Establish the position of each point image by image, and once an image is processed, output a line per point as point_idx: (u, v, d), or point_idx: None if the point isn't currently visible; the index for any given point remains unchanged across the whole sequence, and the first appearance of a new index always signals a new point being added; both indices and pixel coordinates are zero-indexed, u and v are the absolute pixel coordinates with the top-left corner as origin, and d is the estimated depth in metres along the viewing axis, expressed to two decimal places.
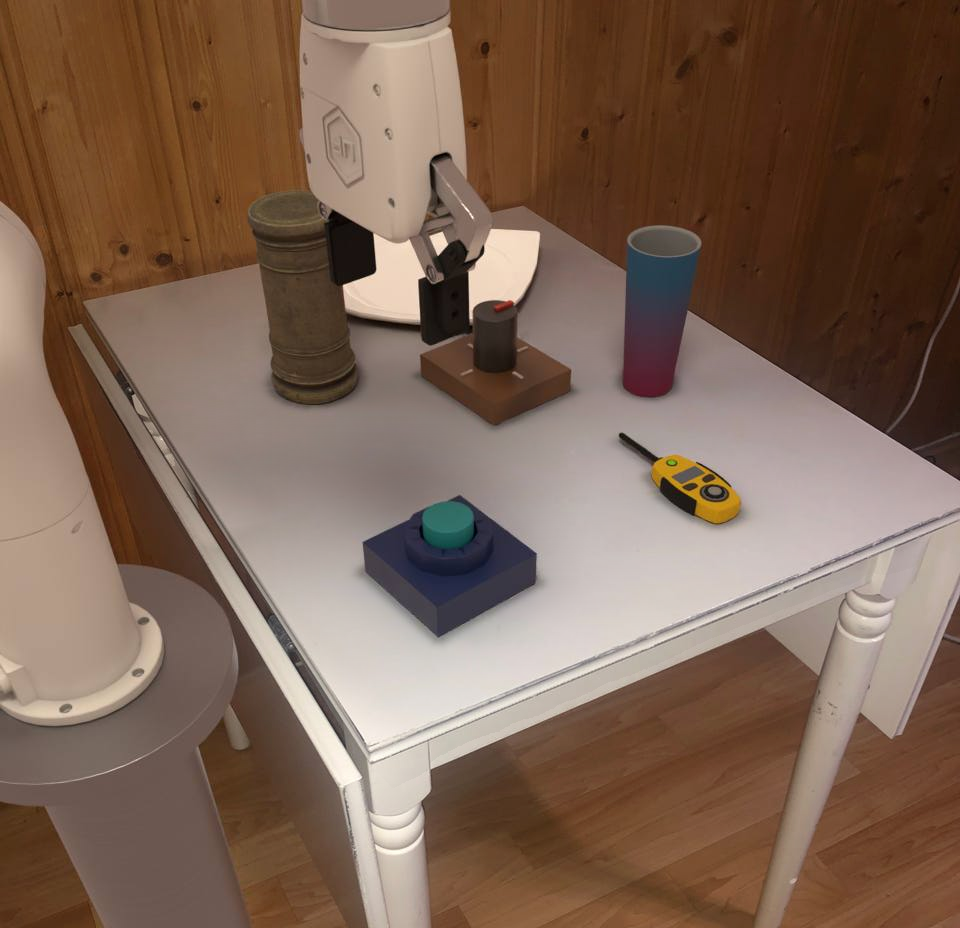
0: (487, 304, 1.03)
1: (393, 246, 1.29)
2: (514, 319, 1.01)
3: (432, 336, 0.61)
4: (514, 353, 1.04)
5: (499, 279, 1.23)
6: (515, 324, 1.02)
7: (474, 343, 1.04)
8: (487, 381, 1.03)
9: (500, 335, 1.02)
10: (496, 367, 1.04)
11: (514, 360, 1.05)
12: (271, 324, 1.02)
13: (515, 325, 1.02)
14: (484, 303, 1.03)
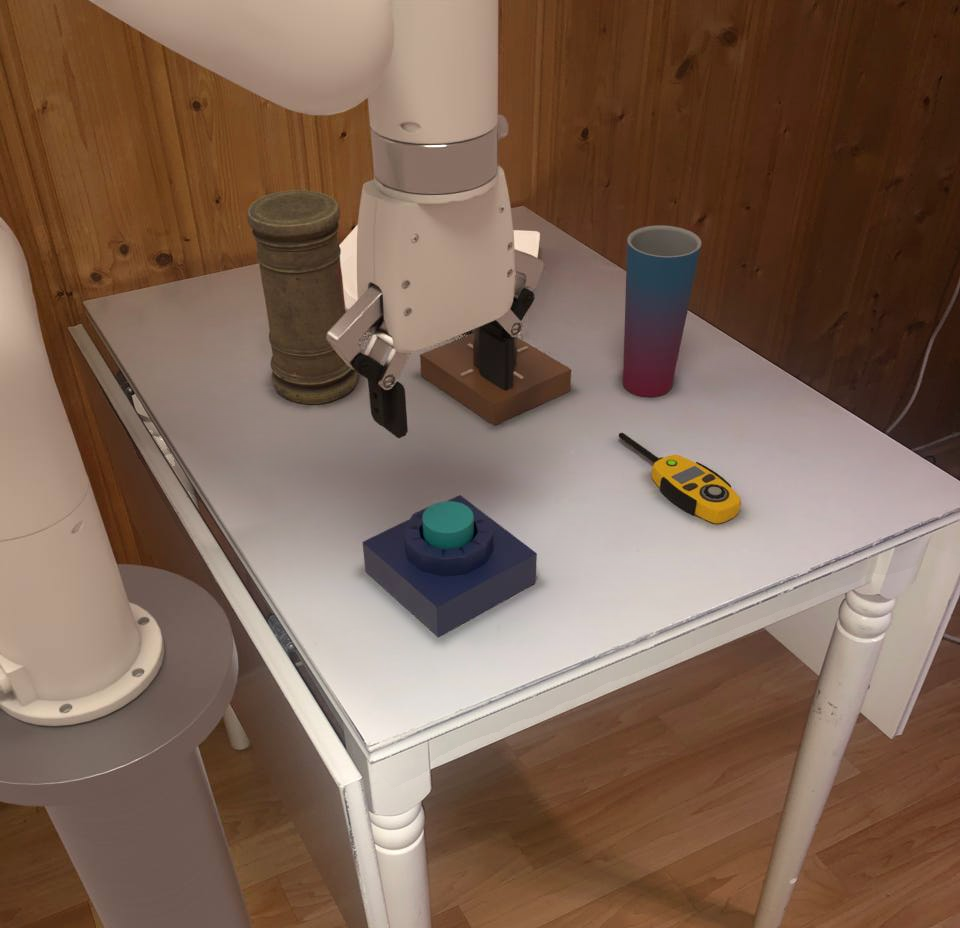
0: None
1: None
2: None
3: None
4: (514, 353, 1.04)
5: None
6: None
7: (474, 343, 1.04)
8: (487, 381, 1.03)
9: None
10: None
11: (514, 360, 1.05)
12: (271, 324, 1.02)
13: None
14: None
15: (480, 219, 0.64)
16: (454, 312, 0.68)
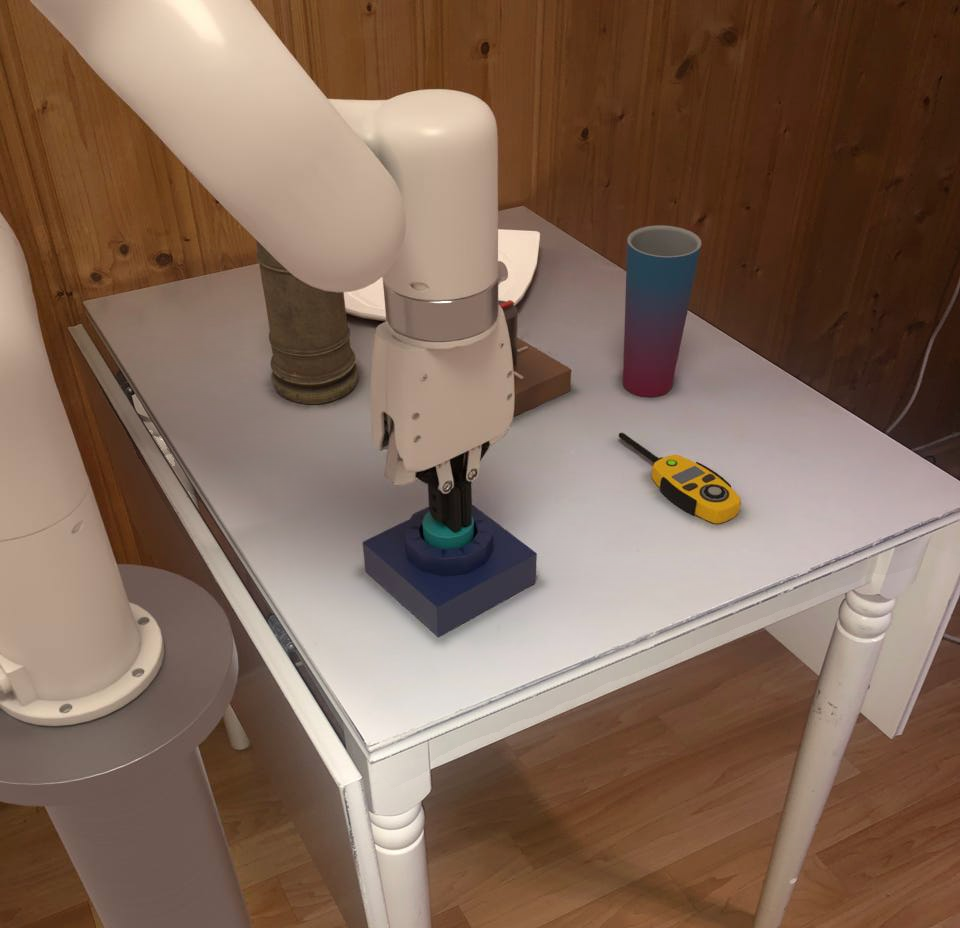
0: None
1: None
2: (514, 319, 1.01)
3: None
4: (514, 353, 1.04)
5: None
6: (515, 324, 1.02)
7: None
8: None
9: None
10: None
11: (514, 360, 1.05)
12: (271, 324, 1.02)
13: (515, 325, 1.02)
14: None
15: (482, 356, 0.71)
16: (459, 435, 0.74)
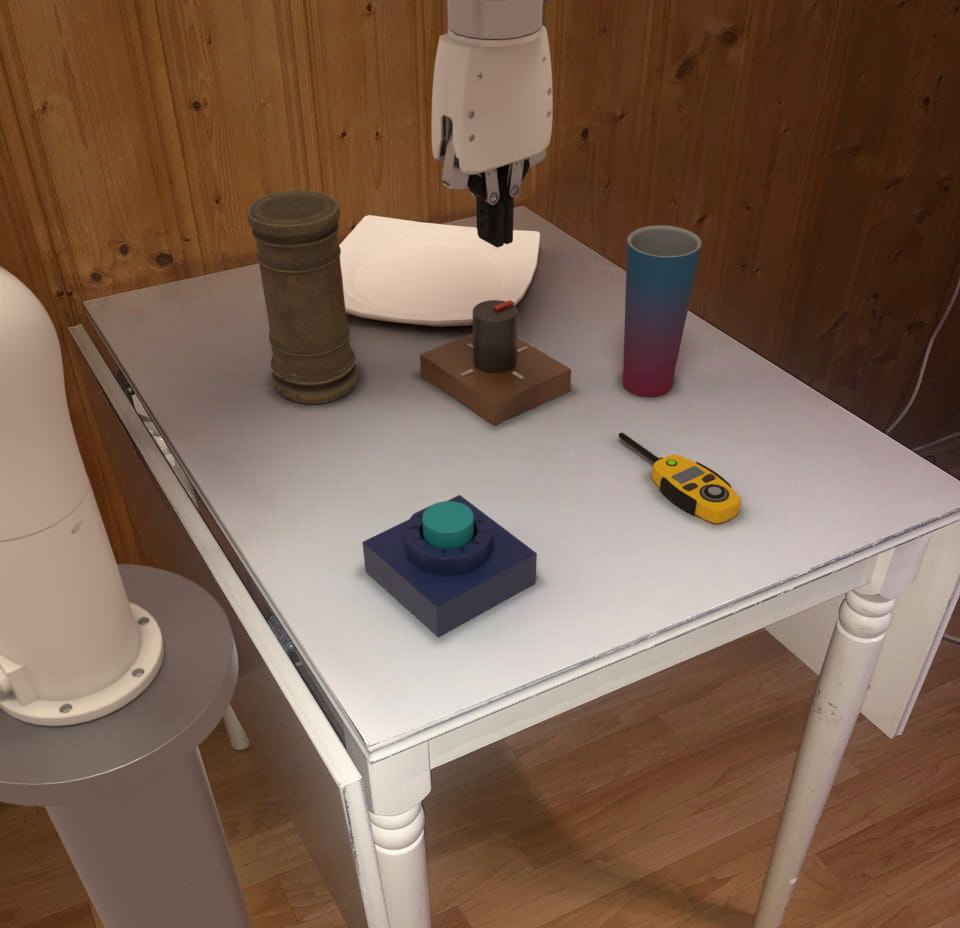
0: (487, 304, 1.03)
1: (393, 246, 1.29)
2: (514, 319, 1.01)
3: None
4: (514, 353, 1.04)
5: (499, 279, 1.23)
6: (515, 324, 1.02)
7: (474, 343, 1.04)
8: (487, 381, 1.03)
9: (500, 335, 1.02)
10: (496, 367, 1.04)
11: (514, 360, 1.05)
12: (271, 324, 1.02)
13: (515, 325, 1.02)
14: (484, 303, 1.03)
15: (528, 65, 0.84)
16: (506, 142, 0.88)
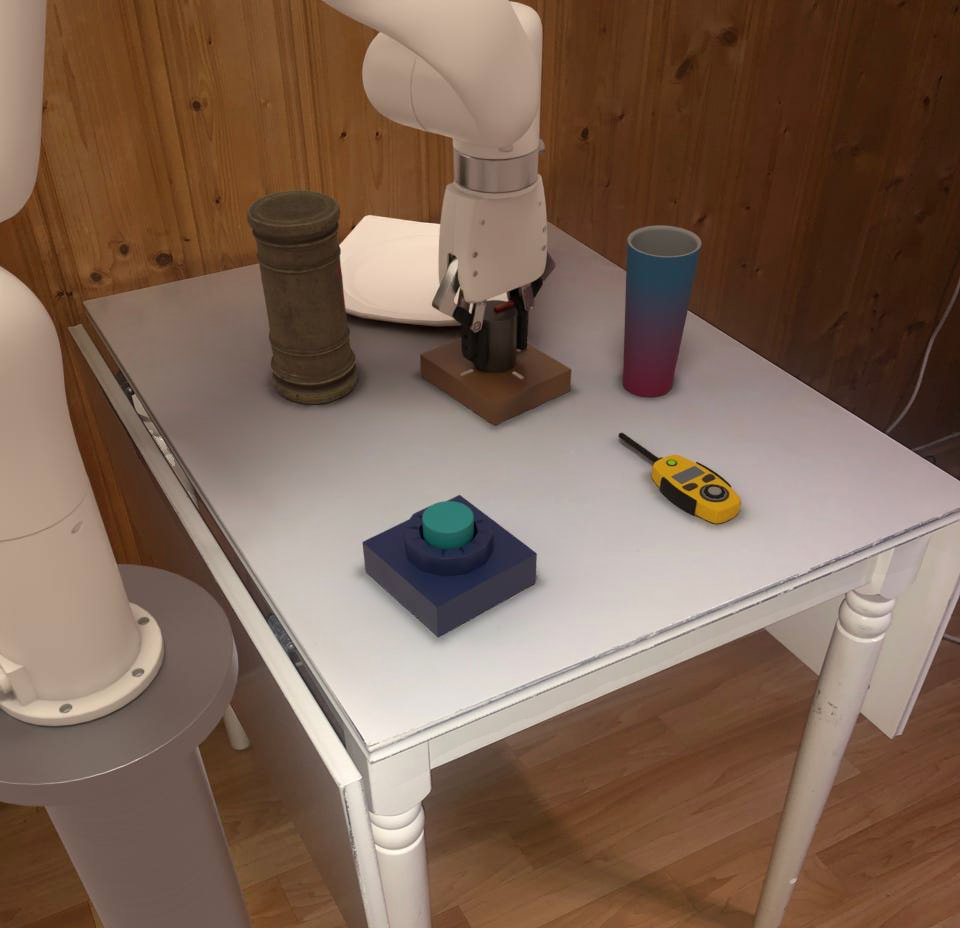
0: (487, 304, 1.03)
1: (393, 246, 1.29)
2: (514, 319, 1.01)
3: None
4: (514, 353, 1.04)
5: None
6: (515, 324, 1.02)
7: None
8: (487, 381, 1.03)
9: (500, 335, 1.02)
10: (496, 367, 1.04)
11: (514, 360, 1.05)
12: (271, 324, 1.02)
13: (515, 325, 1.02)
14: None
15: (525, 210, 0.94)
16: (505, 274, 0.97)
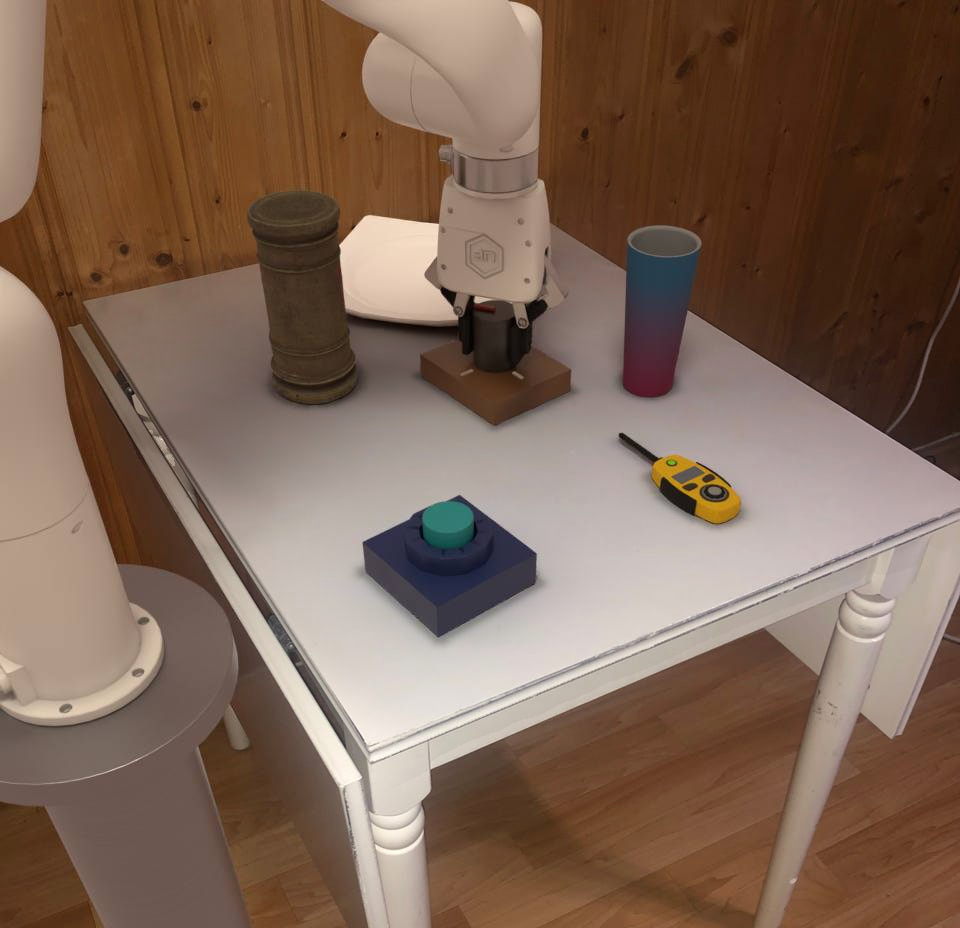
0: (488, 316, 1.01)
1: (393, 246, 1.29)
2: None
3: (518, 359, 1.03)
4: None
5: None
6: None
7: None
8: (487, 381, 1.03)
9: None
10: None
11: None
12: (271, 324, 1.02)
13: None
14: (487, 318, 1.01)
15: None
16: None
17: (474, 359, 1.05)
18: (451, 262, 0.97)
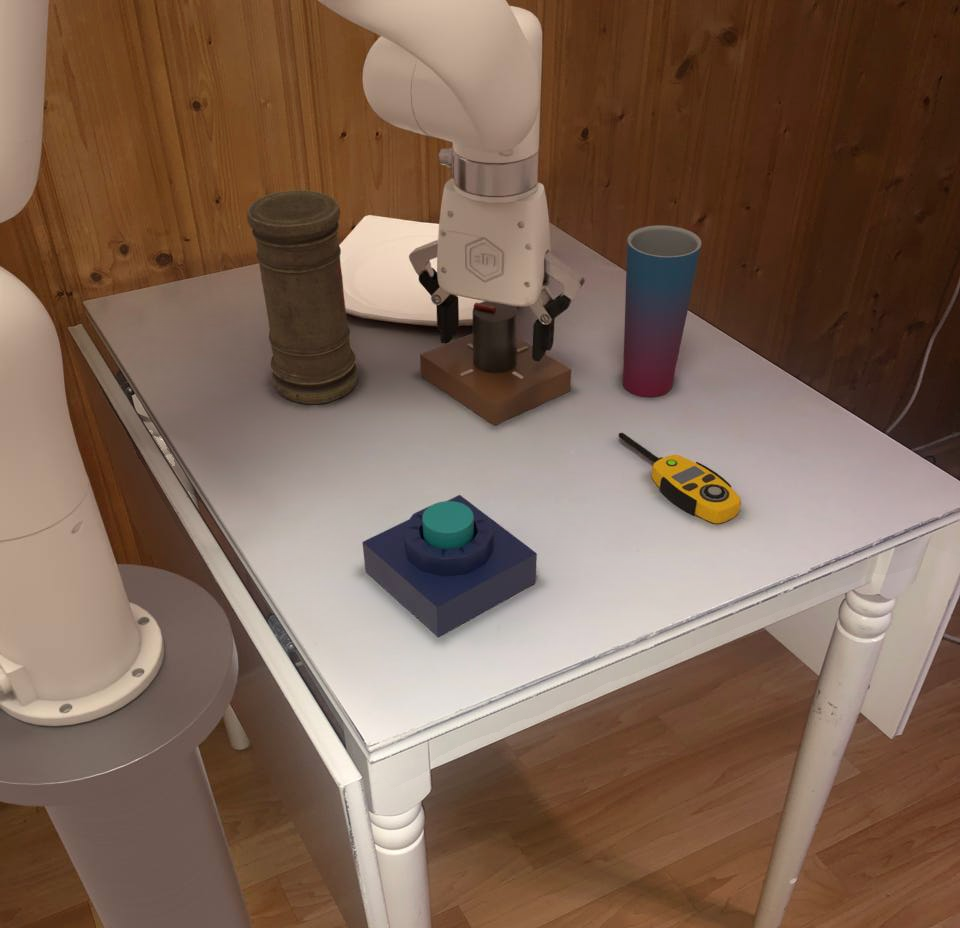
0: (487, 316, 1.01)
1: (393, 246, 1.29)
2: None
3: (540, 355, 1.02)
4: None
5: None
6: None
7: (512, 346, 1.03)
8: (487, 381, 1.03)
9: None
10: None
11: None
12: (271, 324, 1.02)
13: None
14: (487, 318, 1.01)
15: None
16: None
17: (474, 359, 1.05)
18: (451, 265, 0.98)
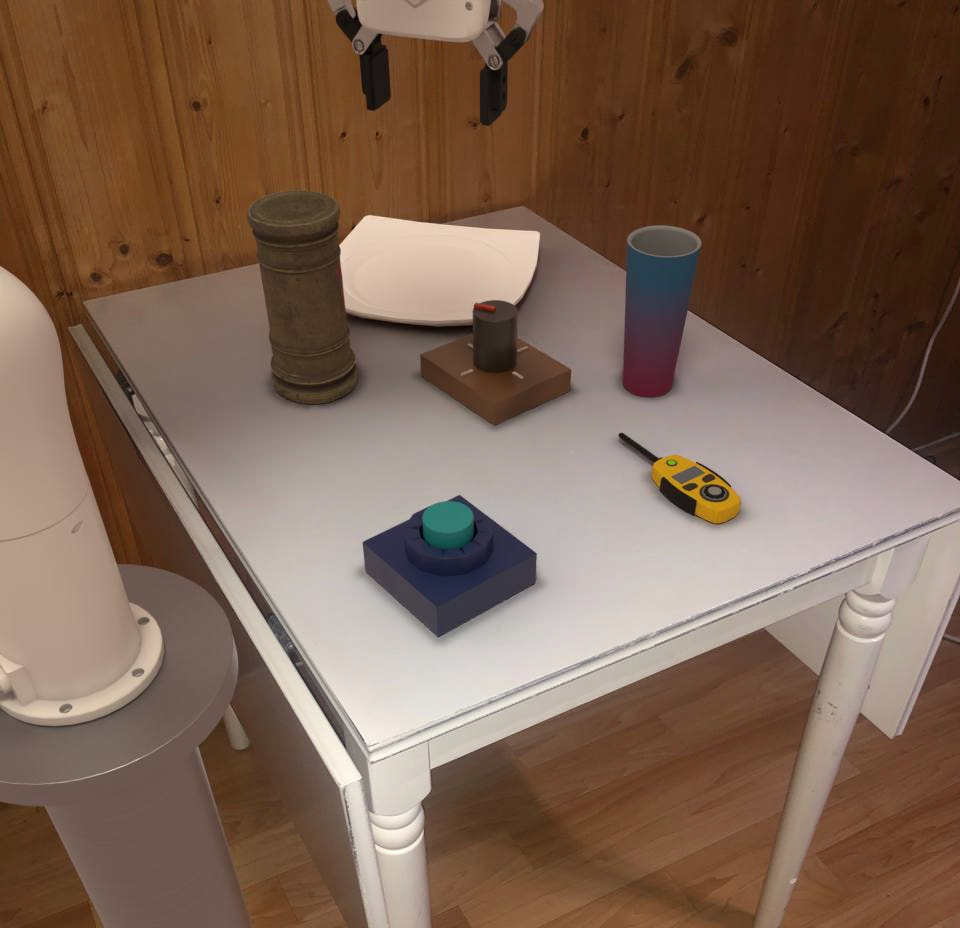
0: (487, 316, 1.01)
1: (393, 246, 1.29)
2: None
3: (489, 117, 0.81)
4: None
5: (499, 279, 1.23)
6: None
7: (512, 346, 1.03)
8: (487, 381, 1.03)
9: None
10: None
11: None
12: (271, 324, 1.02)
13: None
14: (487, 318, 1.01)
15: None
16: None
17: (474, 359, 1.05)
18: None
